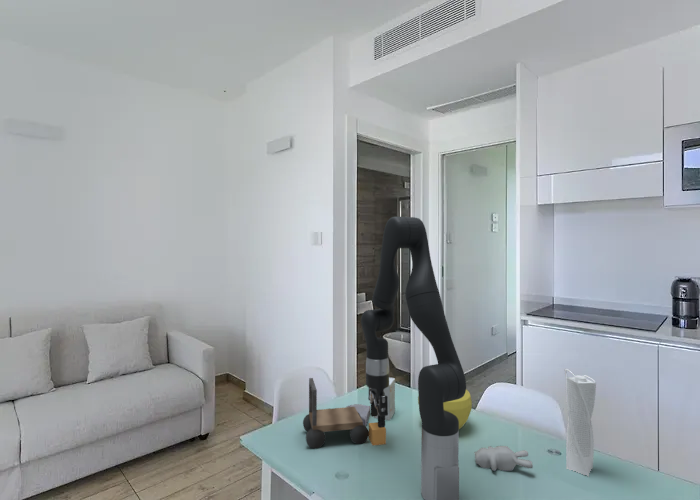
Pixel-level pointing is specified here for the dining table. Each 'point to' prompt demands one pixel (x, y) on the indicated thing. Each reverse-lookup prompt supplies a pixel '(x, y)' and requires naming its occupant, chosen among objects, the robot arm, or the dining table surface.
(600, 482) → the dining table surface
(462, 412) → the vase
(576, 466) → the skyscraper
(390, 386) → the small box
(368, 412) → the stone block
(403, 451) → the dining table surface
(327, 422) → the trolley
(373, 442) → the block
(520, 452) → the bunny figurine
